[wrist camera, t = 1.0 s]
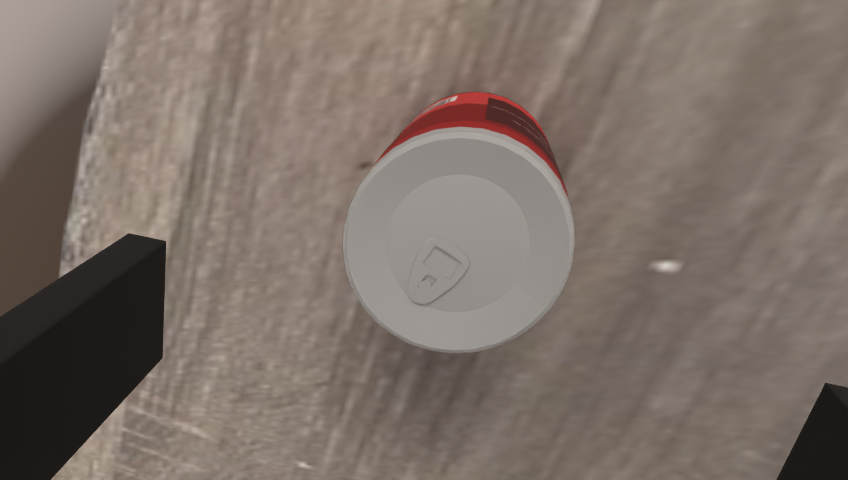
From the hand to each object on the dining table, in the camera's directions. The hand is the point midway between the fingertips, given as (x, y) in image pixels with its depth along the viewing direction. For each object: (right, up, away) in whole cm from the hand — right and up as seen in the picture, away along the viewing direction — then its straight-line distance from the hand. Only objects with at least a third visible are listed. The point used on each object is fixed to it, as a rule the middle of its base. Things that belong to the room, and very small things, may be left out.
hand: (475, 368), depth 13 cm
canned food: (+1, +6, +19) cm, 19 cm away
